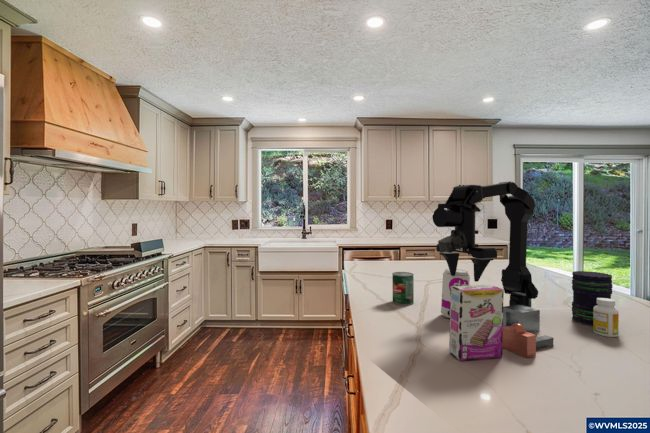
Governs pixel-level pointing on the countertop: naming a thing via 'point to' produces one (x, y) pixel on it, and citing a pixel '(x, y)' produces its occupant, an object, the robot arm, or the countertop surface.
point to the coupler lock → (522, 317)
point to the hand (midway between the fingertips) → (464, 278)
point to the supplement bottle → (605, 318)
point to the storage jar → (588, 294)
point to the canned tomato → (403, 288)
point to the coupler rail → (523, 341)
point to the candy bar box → (476, 322)
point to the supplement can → (449, 280)
